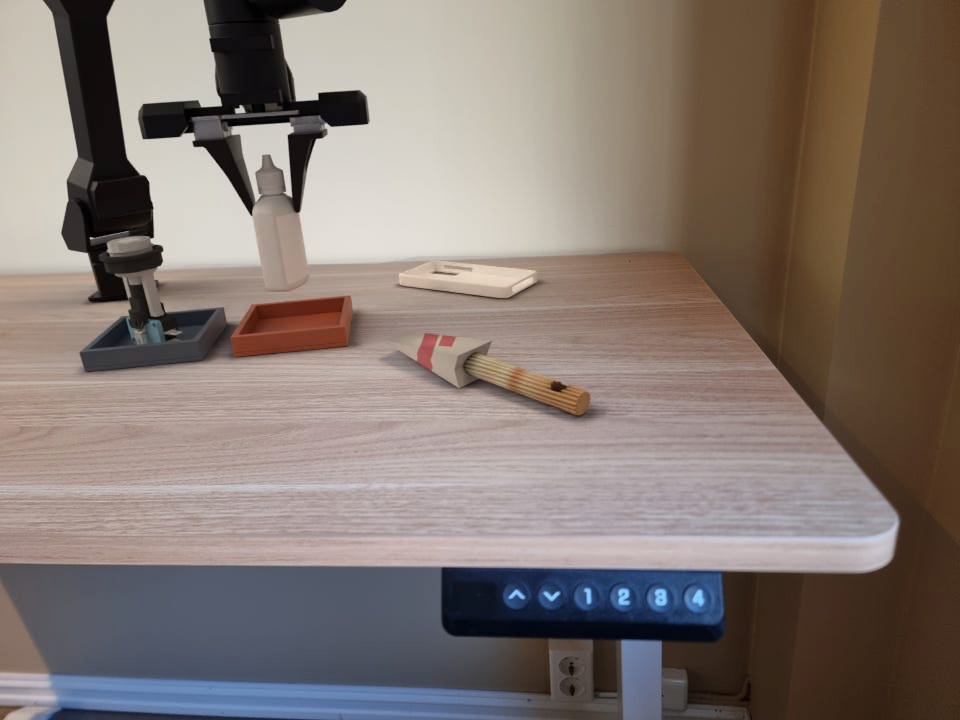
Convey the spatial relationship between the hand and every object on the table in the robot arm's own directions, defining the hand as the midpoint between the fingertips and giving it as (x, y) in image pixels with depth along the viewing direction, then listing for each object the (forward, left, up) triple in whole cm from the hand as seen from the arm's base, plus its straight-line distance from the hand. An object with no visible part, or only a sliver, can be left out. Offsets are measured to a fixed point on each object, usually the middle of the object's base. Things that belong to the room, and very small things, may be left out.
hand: (276, 213), depth 63 cm
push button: (+1, -13, -11) cm, 17 cm away
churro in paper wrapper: (+16, +16, -12) cm, 26 cm away
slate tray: (0, -13, -12) cm, 17 cm away
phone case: (-12, +18, -12) cm, 25 cm away
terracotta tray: (0, 0, -12) cm, 12 cm away
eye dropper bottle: (0, 0, -7) cm, 7 cm away
